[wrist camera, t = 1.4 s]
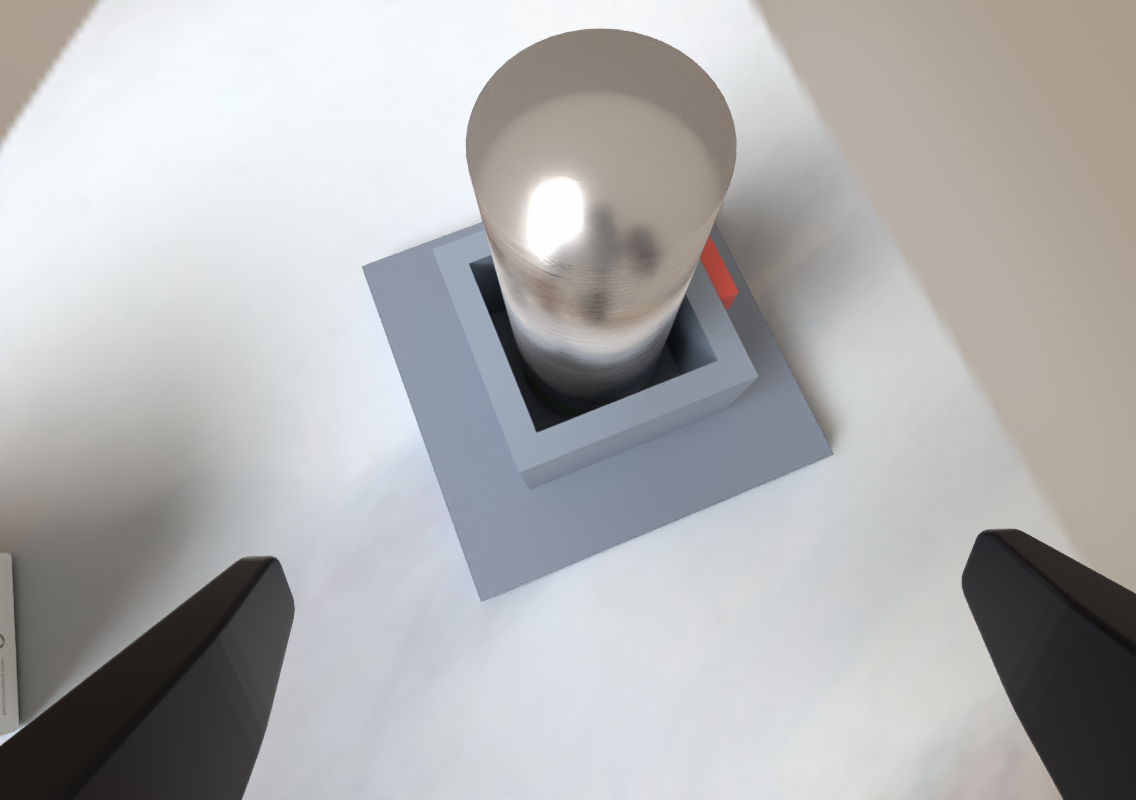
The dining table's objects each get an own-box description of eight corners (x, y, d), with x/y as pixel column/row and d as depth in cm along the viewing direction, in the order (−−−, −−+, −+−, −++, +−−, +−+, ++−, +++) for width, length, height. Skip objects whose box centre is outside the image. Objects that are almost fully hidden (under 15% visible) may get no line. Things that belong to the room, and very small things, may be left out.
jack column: (677, 389, 21) (783, 205, 10) (550, 439, 20) (523, 305, 10) (623, 272, 22) (668, -5, 11) (502, 319, 21) (429, 78, 11)
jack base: (822, 458, 22) (893, 429, 17) (485, 600, 21) (457, 611, 16) (673, 166, 24) (697, 67, 19) (370, 278, 23) (316, 204, 18)
